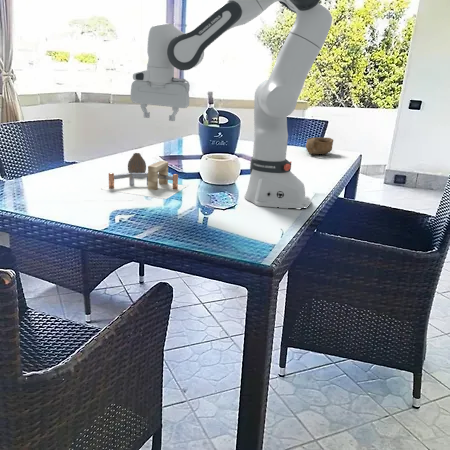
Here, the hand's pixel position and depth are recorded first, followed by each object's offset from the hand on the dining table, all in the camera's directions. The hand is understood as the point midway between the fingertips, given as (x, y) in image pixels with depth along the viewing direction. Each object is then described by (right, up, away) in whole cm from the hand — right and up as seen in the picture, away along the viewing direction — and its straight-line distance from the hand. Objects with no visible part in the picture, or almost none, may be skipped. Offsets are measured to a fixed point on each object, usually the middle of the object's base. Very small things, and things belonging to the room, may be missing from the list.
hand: (159, 119), depth 165 cm
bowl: (+70, 0, +87) cm, 111 cm away
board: (-5, -23, +5) cm, 24 cm away
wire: (-6, -23, +4) cm, 24 cm away
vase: (-12, -17, +23) cm, 31 cm away
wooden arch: (-1, -22, +8) cm, 23 cm away
